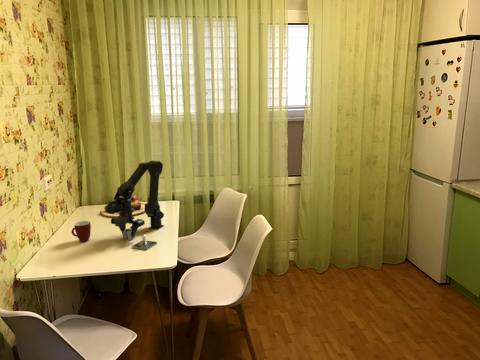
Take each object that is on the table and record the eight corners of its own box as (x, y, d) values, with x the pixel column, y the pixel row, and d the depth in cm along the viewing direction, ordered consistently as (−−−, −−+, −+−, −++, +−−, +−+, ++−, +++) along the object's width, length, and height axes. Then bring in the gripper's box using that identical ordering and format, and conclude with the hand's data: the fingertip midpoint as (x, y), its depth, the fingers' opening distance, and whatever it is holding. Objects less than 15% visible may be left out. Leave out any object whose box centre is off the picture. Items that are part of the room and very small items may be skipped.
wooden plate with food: (124, 202, 288) (123, 191, 286) (159, 206, 274) (158, 195, 272) (90, 216, 260) (88, 204, 258) (127, 221, 246) (125, 209, 244)
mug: (69, 244, 210) (67, 226, 208) (75, 238, 218) (73, 221, 216) (89, 243, 210) (87, 225, 208) (94, 237, 218) (92, 220, 216)
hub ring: (128, 235, 220) (127, 228, 219) (136, 237, 218) (136, 229, 217) (121, 239, 215) (120, 231, 214) (129, 240, 212) (129, 232, 211)
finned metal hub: (143, 241, 211) (142, 231, 209) (157, 243, 207) (156, 233, 206) (132, 247, 203) (131, 236, 201) (146, 250, 199) (145, 239, 198)
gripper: (102, 211, 209) (105, 239, 213) (130, 215, 202) (133, 243, 205) (116, 206, 219) (119, 232, 222) (144, 209, 212) (146, 236, 215)
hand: (128, 236), depth 216 cm, fingers closed on hub ring, 6 cm apart
